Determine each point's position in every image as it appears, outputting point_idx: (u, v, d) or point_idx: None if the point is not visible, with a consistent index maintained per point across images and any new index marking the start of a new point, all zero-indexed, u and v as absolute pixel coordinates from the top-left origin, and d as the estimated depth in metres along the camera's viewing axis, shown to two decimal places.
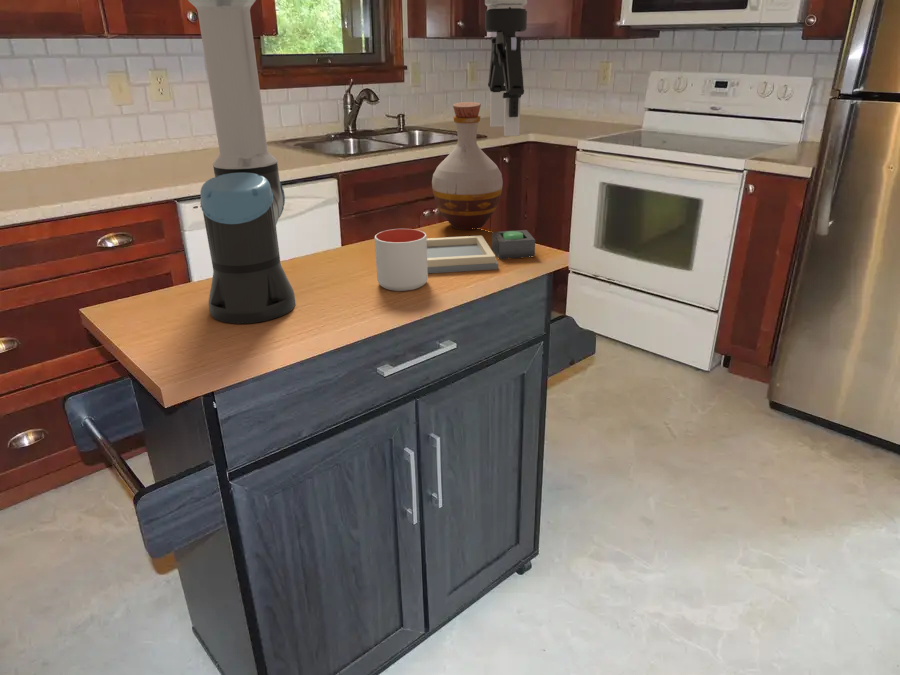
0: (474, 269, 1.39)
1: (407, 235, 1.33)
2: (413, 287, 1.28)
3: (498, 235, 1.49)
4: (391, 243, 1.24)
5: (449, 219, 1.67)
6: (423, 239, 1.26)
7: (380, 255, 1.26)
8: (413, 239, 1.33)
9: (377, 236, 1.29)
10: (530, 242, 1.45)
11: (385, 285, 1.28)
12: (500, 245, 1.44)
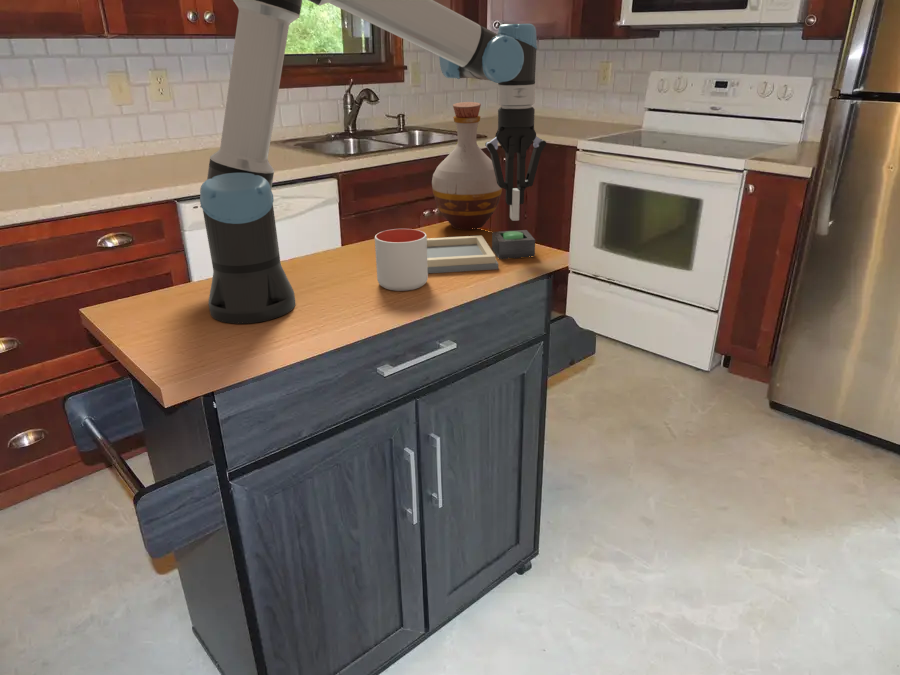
0: (474, 269, 1.39)
1: (407, 235, 1.33)
2: (413, 287, 1.28)
3: (498, 235, 1.49)
4: (391, 243, 1.24)
5: (449, 219, 1.67)
6: (423, 239, 1.26)
7: (380, 255, 1.26)
8: (413, 239, 1.33)
9: (377, 236, 1.29)
10: (530, 242, 1.45)
11: (385, 285, 1.28)
12: (500, 245, 1.44)
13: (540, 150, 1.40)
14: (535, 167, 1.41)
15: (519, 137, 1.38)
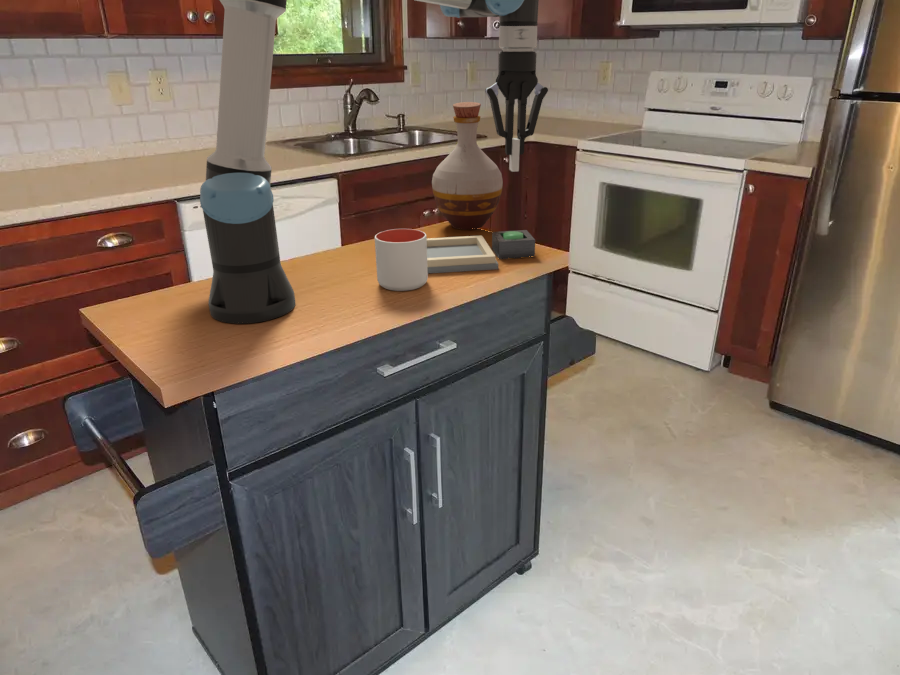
0: (474, 269, 1.39)
1: (407, 235, 1.33)
2: (413, 287, 1.28)
3: (498, 235, 1.49)
4: (391, 243, 1.24)
5: (449, 219, 1.67)
6: (423, 239, 1.26)
7: (380, 255, 1.26)
8: (413, 239, 1.33)
9: (377, 236, 1.29)
10: (530, 242, 1.45)
11: (385, 285, 1.28)
12: (500, 245, 1.44)
13: (541, 97, 1.35)
14: (536, 115, 1.37)
15: (520, 83, 1.34)
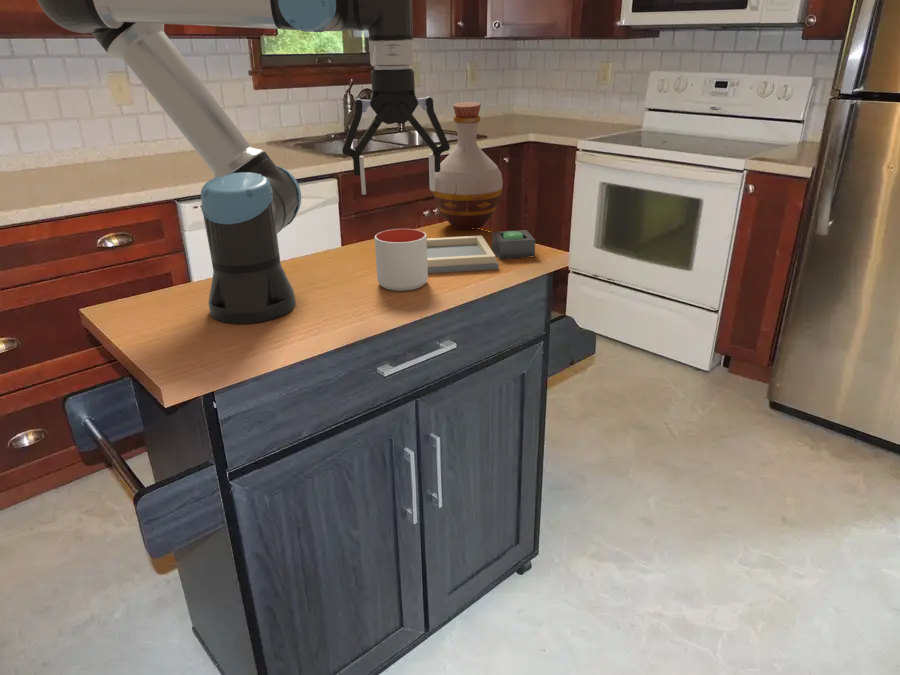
0: (474, 269, 1.39)
1: (407, 235, 1.33)
2: (413, 287, 1.28)
3: (498, 235, 1.49)
4: (391, 243, 1.24)
5: (449, 219, 1.67)
6: (423, 239, 1.26)
7: (380, 255, 1.26)
8: (413, 239, 1.33)
9: (377, 236, 1.29)
10: (530, 242, 1.45)
11: (385, 285, 1.28)
12: (500, 245, 1.44)
13: (431, 109, 1.18)
14: (439, 128, 1.20)
15: (397, 108, 1.17)
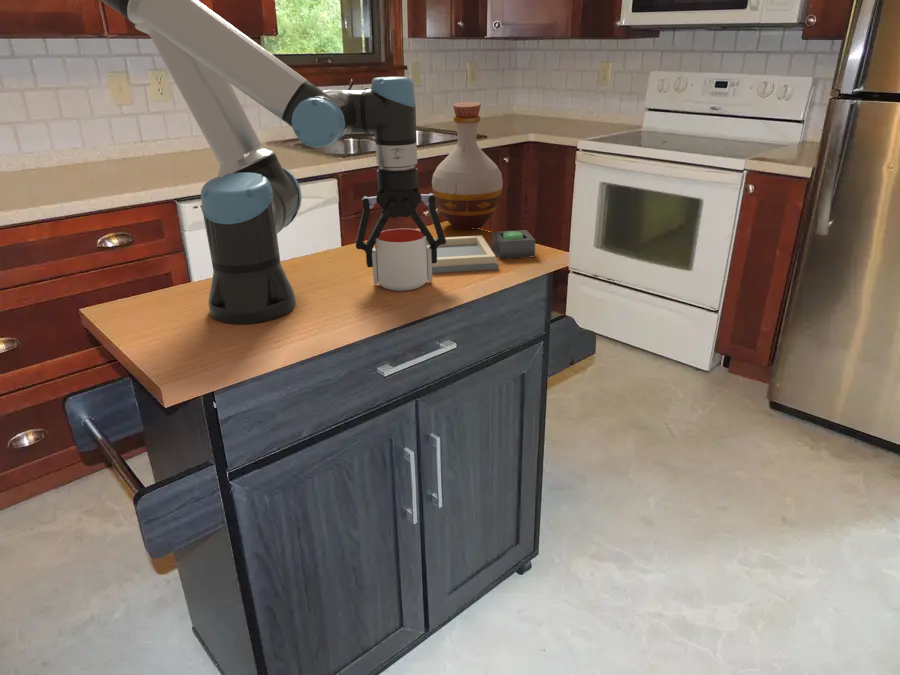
0: (474, 269, 1.39)
1: (407, 235, 1.33)
2: (413, 287, 1.28)
3: (498, 235, 1.49)
4: (391, 243, 1.24)
5: (449, 219, 1.67)
6: (423, 239, 1.26)
7: (380, 254, 1.26)
8: (413, 239, 1.33)
9: None
10: (530, 242, 1.45)
11: (385, 285, 1.28)
12: (500, 245, 1.44)
13: (433, 206, 1.25)
14: (438, 224, 1.27)
15: (401, 202, 1.24)
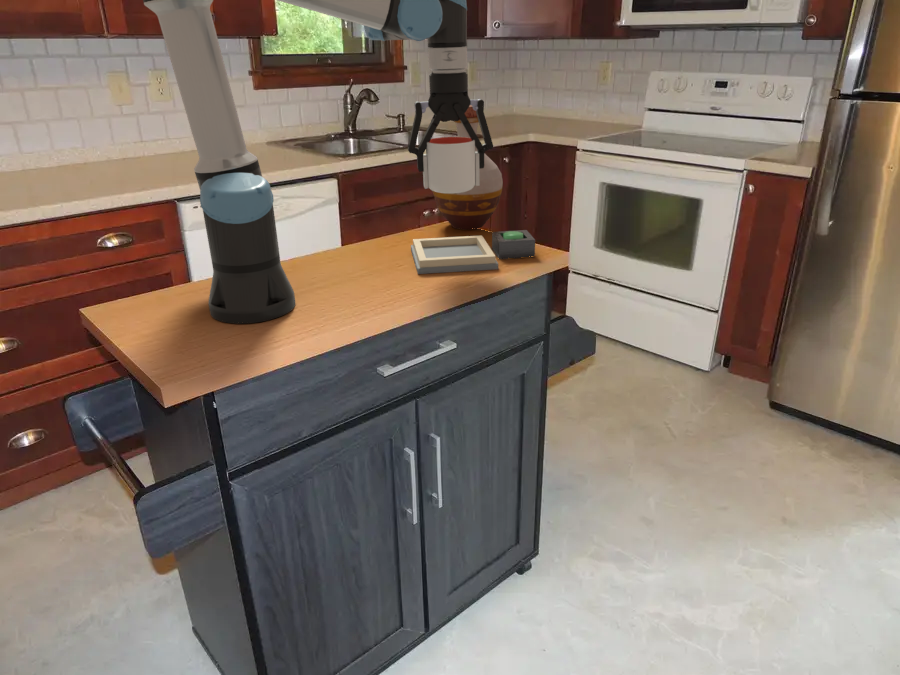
0: (474, 269, 1.39)
1: (455, 143, 1.39)
2: (462, 189, 1.35)
3: (498, 235, 1.49)
4: (442, 144, 1.30)
5: (449, 219, 1.67)
6: (472, 142, 1.33)
7: (432, 157, 1.33)
8: None
9: None
10: (530, 242, 1.45)
11: (436, 188, 1.35)
12: (500, 245, 1.44)
13: (481, 110, 1.32)
14: (486, 128, 1.34)
15: (452, 106, 1.31)
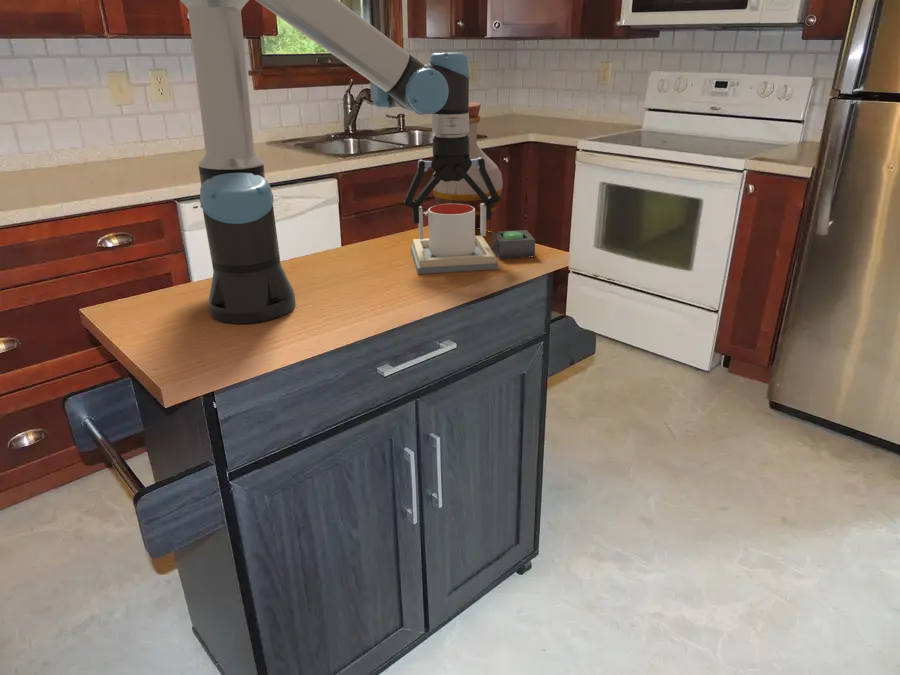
0: (474, 269, 1.39)
1: (456, 209, 1.46)
2: None
3: (498, 235, 1.49)
4: (445, 215, 1.37)
5: None
6: (473, 212, 1.40)
7: (434, 226, 1.40)
8: (461, 213, 1.46)
9: (430, 210, 1.42)
10: (530, 242, 1.45)
11: (437, 254, 1.42)
12: (500, 245, 1.44)
13: (483, 168, 1.38)
14: (490, 184, 1.39)
15: (454, 168, 1.37)
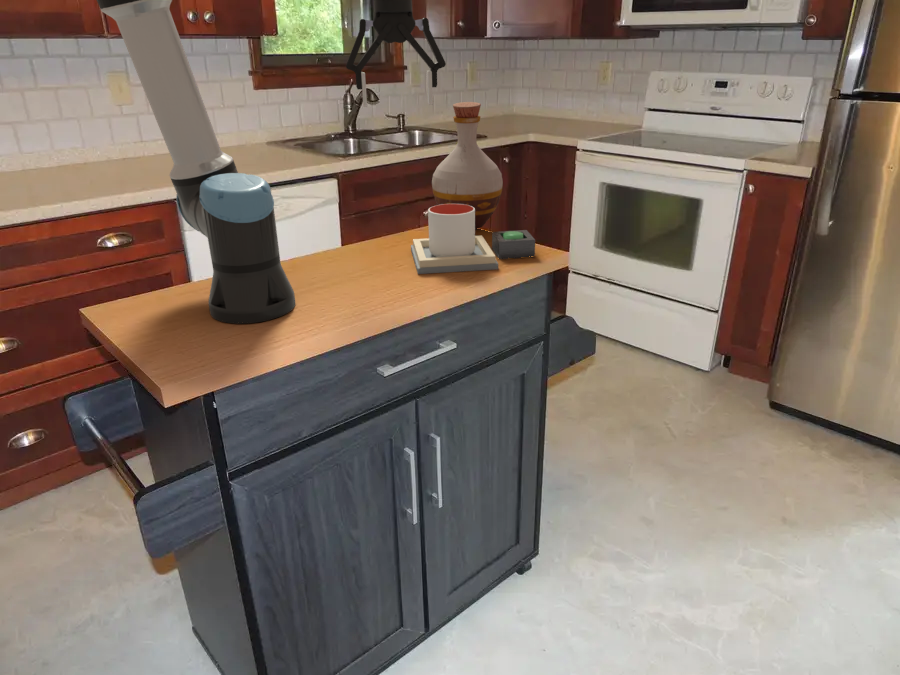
0: (474, 269, 1.39)
1: (456, 209, 1.46)
2: None
3: (498, 235, 1.49)
4: (444, 215, 1.37)
5: None
6: (472, 212, 1.40)
7: (434, 226, 1.40)
8: (461, 213, 1.46)
9: (430, 210, 1.42)
10: (530, 242, 1.45)
11: (437, 254, 1.42)
12: (500, 245, 1.44)
13: (427, 29, 1.33)
14: (435, 46, 1.34)
15: (397, 28, 1.32)
